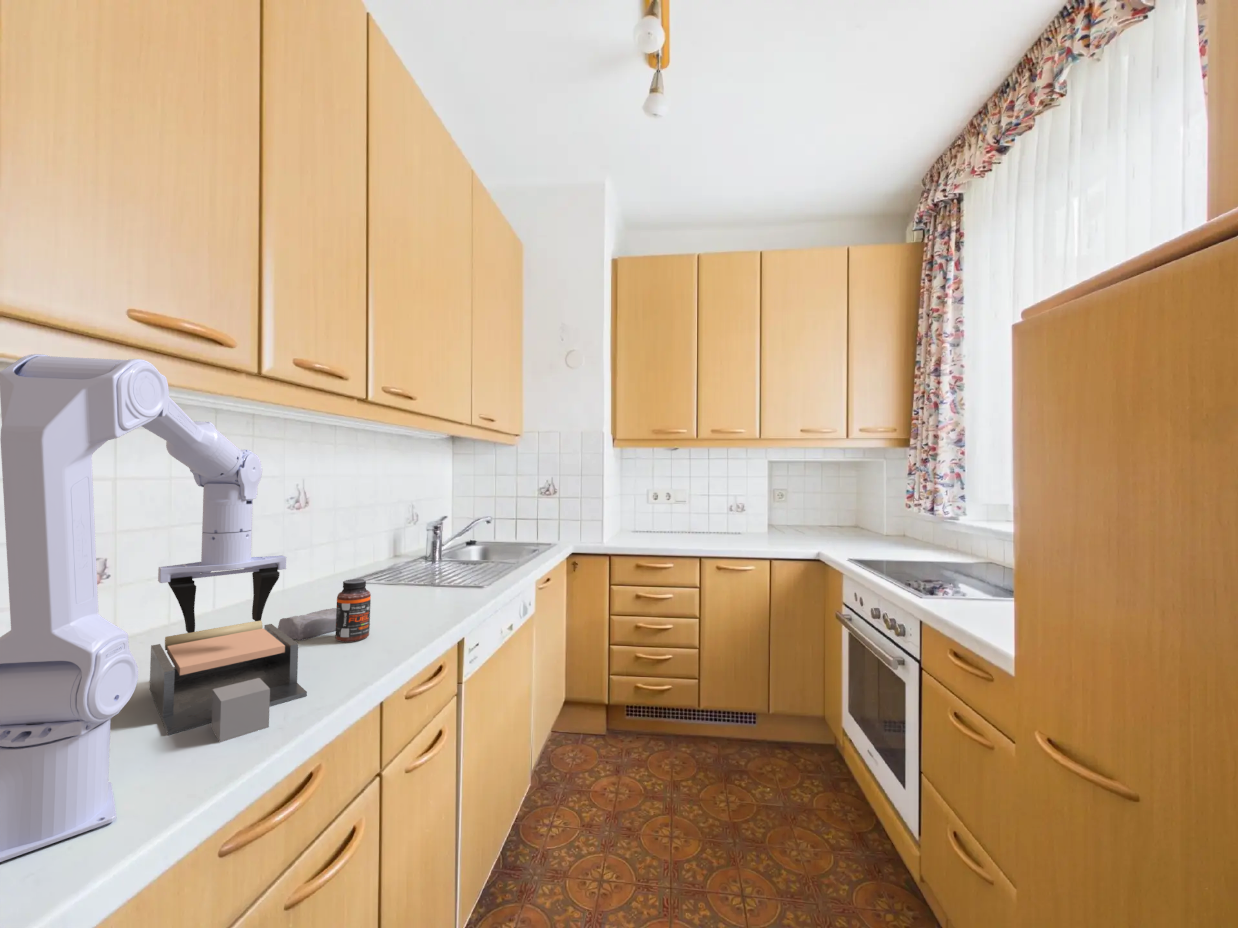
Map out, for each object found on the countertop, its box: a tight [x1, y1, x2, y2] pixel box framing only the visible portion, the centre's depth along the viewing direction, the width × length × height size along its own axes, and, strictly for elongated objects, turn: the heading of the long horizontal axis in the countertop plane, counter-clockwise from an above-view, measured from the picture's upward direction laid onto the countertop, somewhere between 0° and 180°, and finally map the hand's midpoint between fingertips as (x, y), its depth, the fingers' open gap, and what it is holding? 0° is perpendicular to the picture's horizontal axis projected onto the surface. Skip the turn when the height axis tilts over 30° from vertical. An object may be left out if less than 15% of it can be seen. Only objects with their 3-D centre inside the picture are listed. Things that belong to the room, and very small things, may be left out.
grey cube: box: [210, 678, 270, 743], centre depth 64 cm, size 5×5×5 cm
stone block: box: [277, 607, 337, 641], centre depth 104 cm, size 12×5×10 cm
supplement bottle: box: [335, 578, 372, 643], centre depth 99 cm, size 6×6×11 cm
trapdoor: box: [164, 620, 285, 675], centre depth 76 cm, size 12×15×2 cm
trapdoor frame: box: [149, 623, 308, 736], centre depth 74 cm, size 15×19×6 cm
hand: (224, 625), depth 73 cm, fingers open, 7 cm apart
